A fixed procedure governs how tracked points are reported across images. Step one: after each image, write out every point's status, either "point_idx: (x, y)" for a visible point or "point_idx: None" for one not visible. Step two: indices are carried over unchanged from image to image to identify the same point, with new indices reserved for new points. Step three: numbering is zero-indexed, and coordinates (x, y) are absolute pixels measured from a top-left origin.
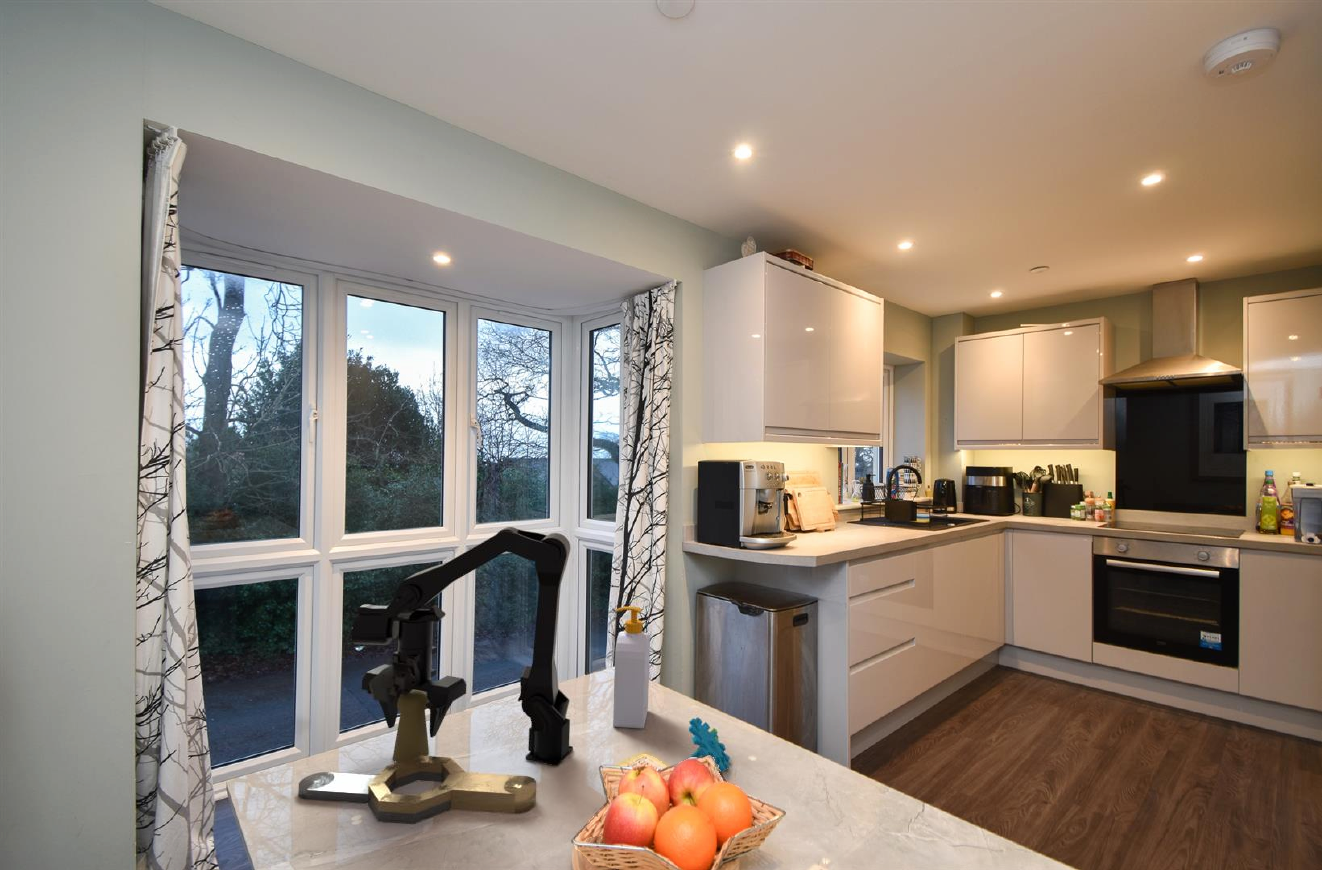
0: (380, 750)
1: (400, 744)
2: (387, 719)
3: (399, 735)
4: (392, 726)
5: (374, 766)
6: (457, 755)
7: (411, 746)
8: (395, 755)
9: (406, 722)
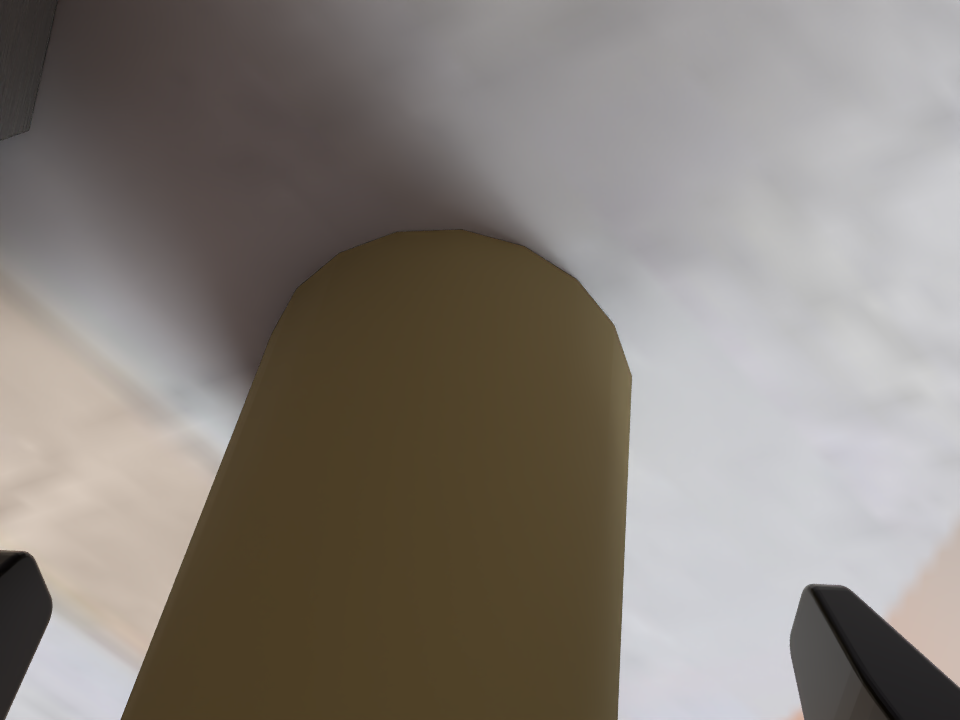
0: (841, 370)
1: (417, 354)
2: (923, 705)
3: (448, 445)
4: (800, 626)
5: (667, 50)
6: (53, 520)
7: (273, 384)
8: (503, 274)
9: (257, 670)
